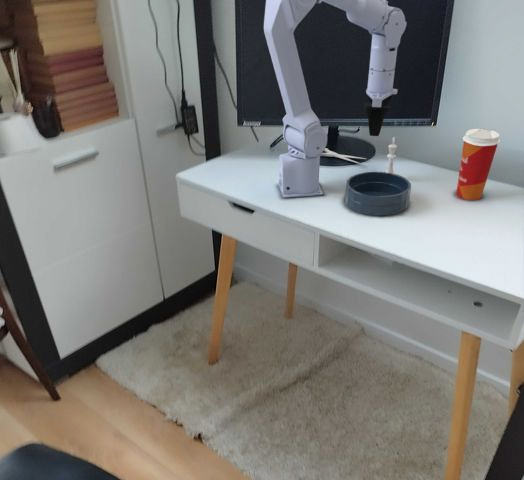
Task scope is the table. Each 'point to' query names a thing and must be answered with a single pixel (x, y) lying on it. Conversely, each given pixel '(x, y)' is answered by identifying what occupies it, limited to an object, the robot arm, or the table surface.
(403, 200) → the bowl
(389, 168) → the chess piece
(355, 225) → the table surface
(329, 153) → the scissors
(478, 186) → the paper cup
